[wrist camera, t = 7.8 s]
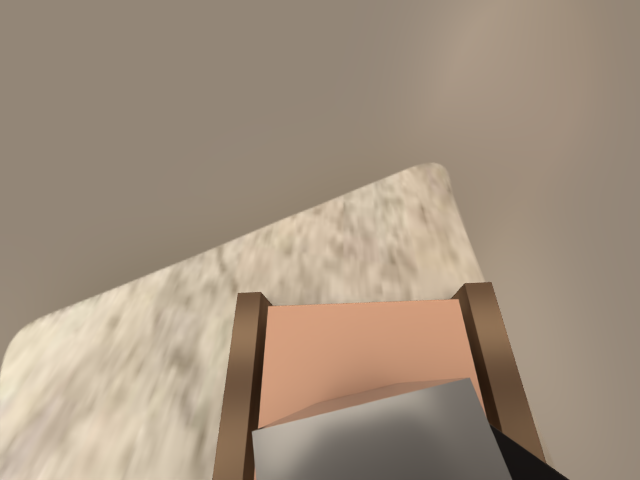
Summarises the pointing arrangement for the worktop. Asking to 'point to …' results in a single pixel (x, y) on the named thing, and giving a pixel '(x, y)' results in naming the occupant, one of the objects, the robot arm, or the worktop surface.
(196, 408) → the worktop surface
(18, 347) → the worktop surface
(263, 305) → the brown bracket
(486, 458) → the gray rectangular block
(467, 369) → the trapdoor
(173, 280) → the worktop surface
